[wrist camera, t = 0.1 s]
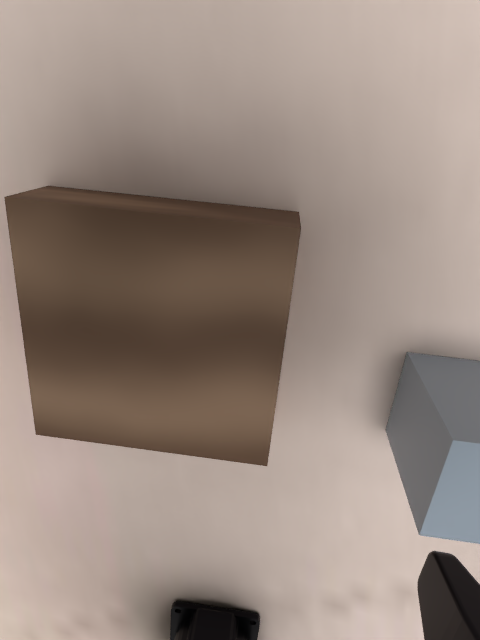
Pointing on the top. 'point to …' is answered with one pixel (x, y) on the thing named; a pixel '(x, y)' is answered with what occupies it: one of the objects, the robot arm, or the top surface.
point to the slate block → (439, 444)
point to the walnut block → (153, 318)
